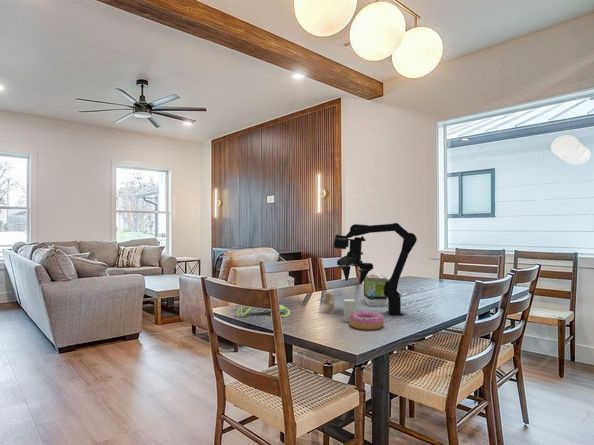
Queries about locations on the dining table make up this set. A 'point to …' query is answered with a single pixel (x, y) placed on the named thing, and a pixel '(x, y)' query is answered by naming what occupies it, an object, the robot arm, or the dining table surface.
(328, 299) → the maple block
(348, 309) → the sage block
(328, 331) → the dining table surface
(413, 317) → the dining table surface
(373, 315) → the donut
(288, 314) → the figurine
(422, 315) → the dining table surface
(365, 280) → the tea box
